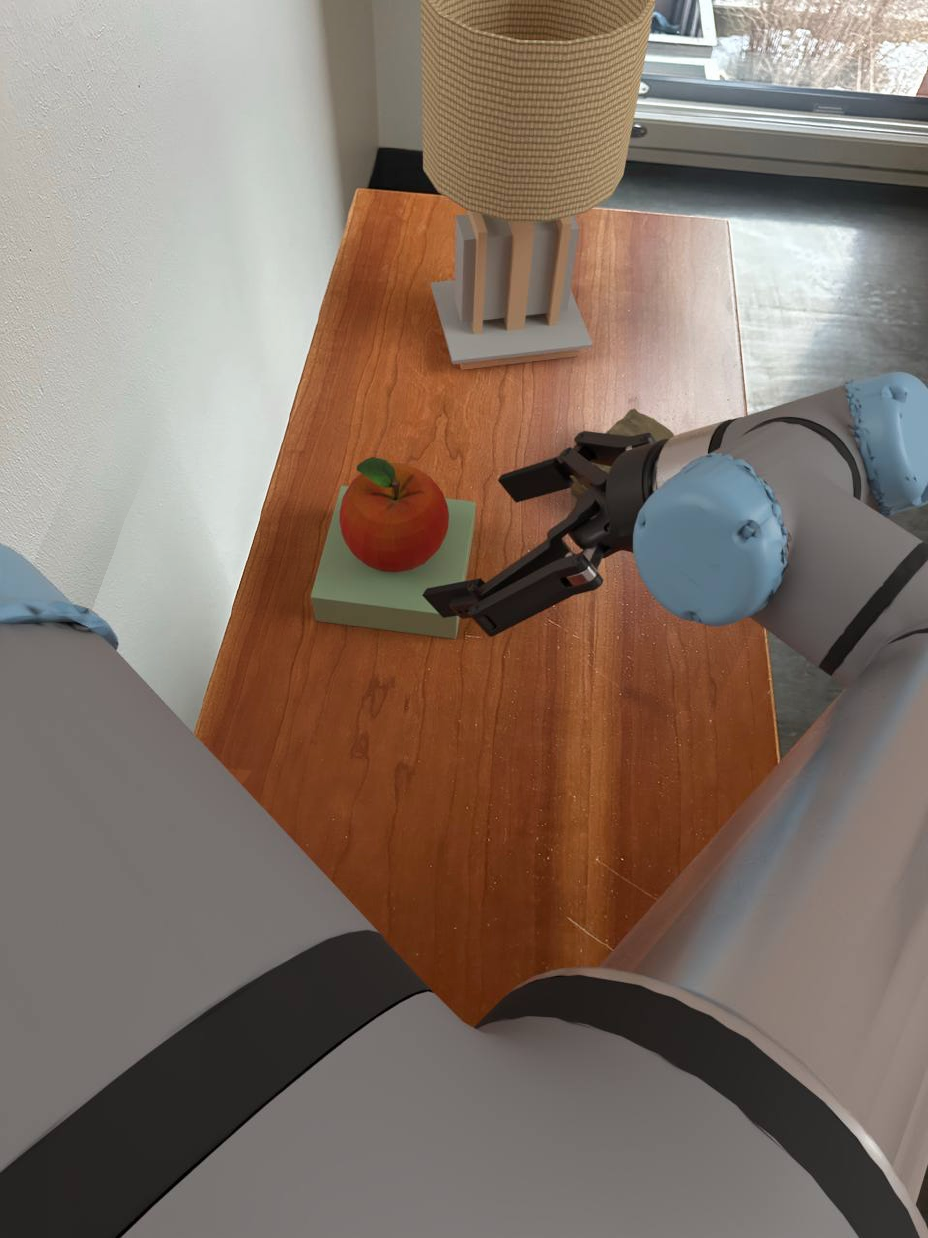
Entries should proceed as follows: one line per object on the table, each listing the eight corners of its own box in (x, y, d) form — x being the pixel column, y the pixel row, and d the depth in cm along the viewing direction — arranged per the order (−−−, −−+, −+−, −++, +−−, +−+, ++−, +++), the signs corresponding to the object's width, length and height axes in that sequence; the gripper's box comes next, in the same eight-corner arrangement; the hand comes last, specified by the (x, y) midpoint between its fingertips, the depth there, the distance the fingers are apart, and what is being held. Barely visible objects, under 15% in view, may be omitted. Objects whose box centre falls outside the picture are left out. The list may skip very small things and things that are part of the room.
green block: (456, 639, 81) (457, 616, 78) (315, 621, 82) (310, 597, 78) (474, 527, 88) (476, 501, 85) (344, 511, 89) (341, 484, 85)
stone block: (563, 498, 90) (569, 465, 86) (624, 435, 95) (633, 400, 91) (611, 528, 88) (620, 494, 84) (671, 461, 93) (682, 427, 89)
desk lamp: (440, 399, 97) (442, 52, 67) (411, 284, 107) (401, -61, 78) (613, 378, 100) (688, 34, 70) (568, 268, 110) (617, -73, 80)
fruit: (412, 608, 78) (409, 538, 69) (323, 560, 80) (310, 487, 72) (468, 534, 82) (472, 460, 74) (383, 491, 85) (377, 415, 76)
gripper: (646, 676, 54) (430, 688, 70) (766, 415, 66) (559, 476, 82) (577, 592, 51) (367, 625, 67) (718, 335, 63) (511, 414, 79)
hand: (473, 543), depth 75 cm, fingers open, 13 cm apart
